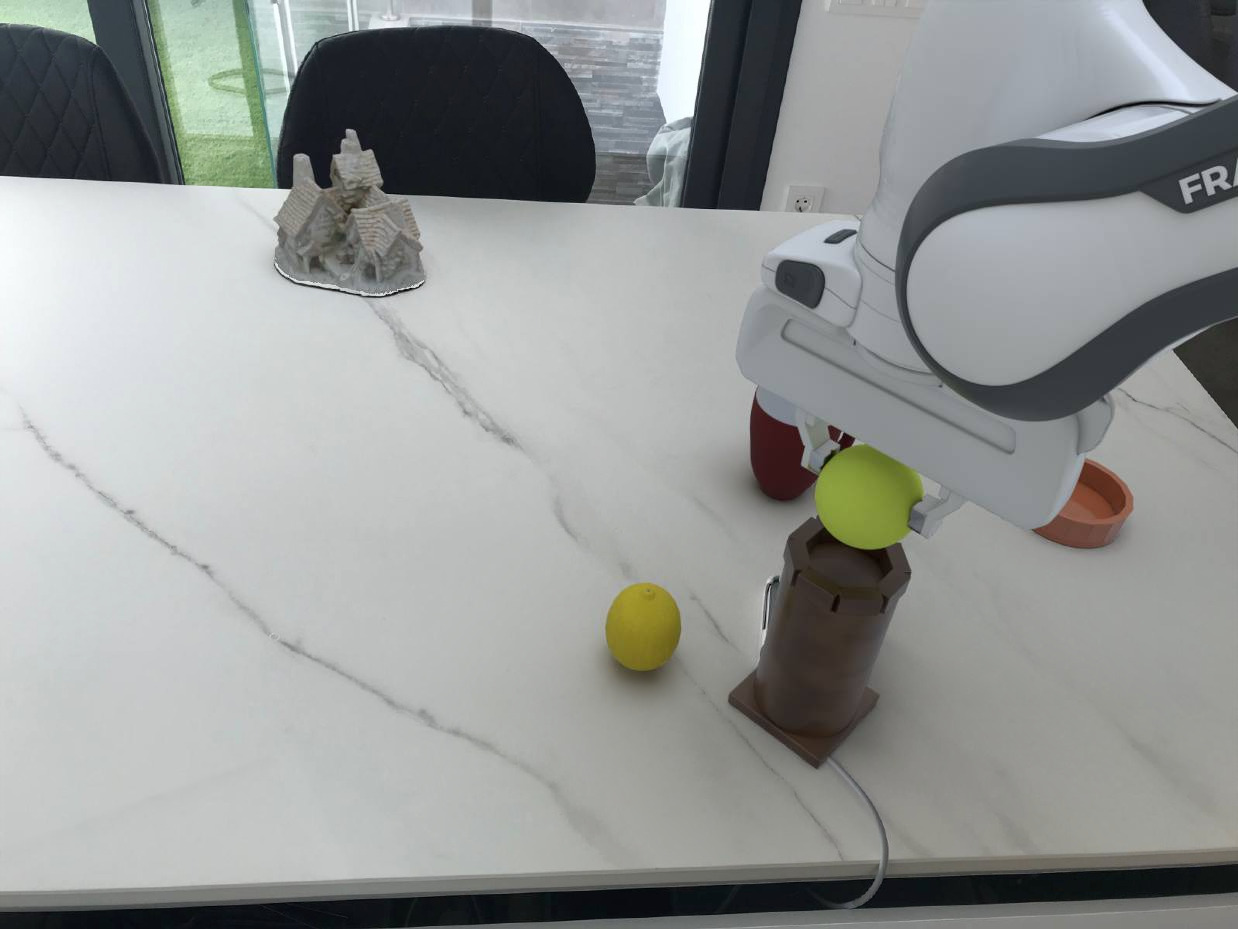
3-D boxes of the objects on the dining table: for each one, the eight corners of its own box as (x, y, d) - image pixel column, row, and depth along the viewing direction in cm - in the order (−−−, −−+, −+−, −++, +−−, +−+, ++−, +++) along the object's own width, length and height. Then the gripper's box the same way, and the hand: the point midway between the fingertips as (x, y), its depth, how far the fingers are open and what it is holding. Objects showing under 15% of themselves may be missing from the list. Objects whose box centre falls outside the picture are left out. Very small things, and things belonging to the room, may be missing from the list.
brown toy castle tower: (877, 703, 73) (934, 557, 63) (817, 769, 68) (869, 623, 58) (789, 642, 77) (830, 496, 67) (727, 701, 72) (761, 553, 62)
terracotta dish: (1136, 511, 92) (1150, 488, 90) (1095, 565, 86) (1108, 541, 84) (1036, 461, 97) (1047, 437, 95) (990, 508, 91) (1001, 484, 89)
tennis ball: (926, 536, 62) (956, 458, 58) (873, 587, 58) (901, 508, 54) (841, 486, 65) (863, 409, 61) (785, 532, 61) (805, 453, 57)
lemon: (678, 691, 72) (691, 620, 67) (604, 692, 72) (611, 620, 67) (670, 633, 77) (682, 562, 71) (600, 634, 76) (606, 562, 71)
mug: (812, 444, 96) (834, 360, 90) (862, 495, 91) (889, 410, 84) (721, 470, 92) (737, 384, 86) (767, 525, 87) (788, 437, 80)
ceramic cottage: (265, 246, 118) (251, 127, 108) (398, 231, 125) (396, 117, 115) (296, 318, 108) (284, 194, 98) (439, 297, 115) (441, 179, 105)
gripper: (1153, 361, 47) (1051, 561, 56) (804, 211, 57) (764, 401, 66) (1103, 414, 43) (1002, 619, 52) (738, 244, 53) (706, 441, 62)
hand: (867, 496), depth 59 cm, fingers closed on tennis ball, 6 cm apart
